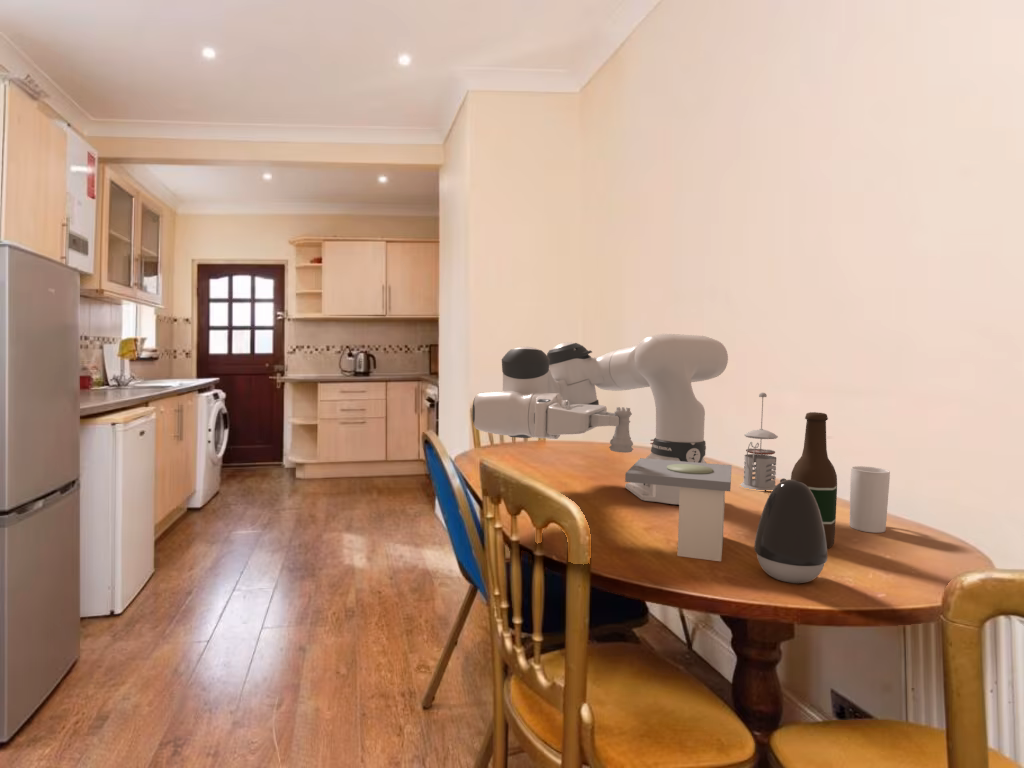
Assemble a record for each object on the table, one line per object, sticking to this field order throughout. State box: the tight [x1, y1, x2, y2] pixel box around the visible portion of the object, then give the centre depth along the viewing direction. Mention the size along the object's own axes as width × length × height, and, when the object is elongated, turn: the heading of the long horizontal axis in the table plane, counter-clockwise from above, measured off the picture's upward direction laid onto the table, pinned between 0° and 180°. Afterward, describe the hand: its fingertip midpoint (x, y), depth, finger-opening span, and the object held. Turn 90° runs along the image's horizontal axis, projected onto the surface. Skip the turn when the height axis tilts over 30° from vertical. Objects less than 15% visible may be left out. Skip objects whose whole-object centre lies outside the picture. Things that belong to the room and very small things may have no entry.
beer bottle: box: [790, 411, 838, 550], centre depth 111 cm, size 8×8×24 cm
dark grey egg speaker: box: [753, 478, 828, 584], centre depth 93 cm, size 10×10×15 cm
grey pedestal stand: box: [624, 457, 733, 562], centre depth 109 cm, size 17×17×14 cm
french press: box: [739, 392, 779, 490], centre depth 158 cm, size 10×12×25 cm
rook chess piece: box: [608, 406, 634, 454], centre depth 112 cm, size 4×4×8 cm
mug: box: [849, 465, 891, 534], centre depth 123 cm, size 10×7×12 cm, turn 150°
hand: (621, 420), depth 112 cm, fingers closed on rook chess piece, 3 cm apart
